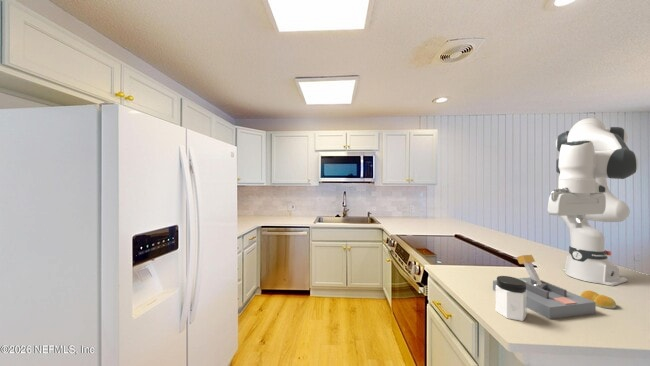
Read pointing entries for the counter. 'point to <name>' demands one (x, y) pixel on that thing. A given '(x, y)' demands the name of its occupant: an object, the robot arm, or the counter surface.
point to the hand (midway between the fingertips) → (576, 227)
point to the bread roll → (599, 299)
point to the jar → (511, 298)
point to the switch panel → (555, 301)
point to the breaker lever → (531, 270)
